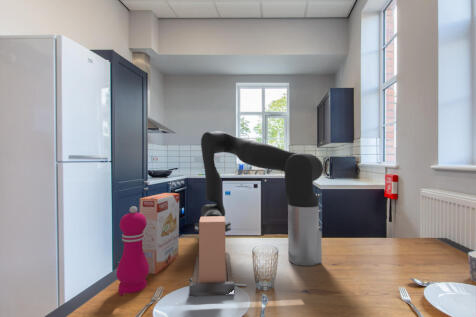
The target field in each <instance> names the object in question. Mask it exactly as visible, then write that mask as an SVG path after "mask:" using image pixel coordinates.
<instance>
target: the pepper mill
mask: <svg viewBox="0 0 476 317" xmlns="http://www.w3.org/2000/svg"><path fill="white" fill-rule="evenodd" d="M146 225H147V221H146V218H145V216H144V215H143V214H141V213H139V212H138V207H136V206H135V205H134V206H131V207H130V208H129V213H126V214H124V215H123V216H122V217H121V218H120V221H119V228H120V231H121V232H122V234H121V241H122V242H123V252H122V256H121V258H120V260H119V262H118V266H117V269H116V279H117V280H118V281H119V282H120V283H119V284H118V294H119V295H120V296H123V295H124V294H132V293H137V292H140V291H142V290H144V289H145V288H146V287H148V286H147V285H148V280H147V279H146V278H147V276H148V275H149V265H148V261H147V259H146V257H145V255H144V252H143V247H142V240H143V239H144V232H143V230H144V229H145V227H146Z"/></svg>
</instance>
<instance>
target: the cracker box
mask: <svg viewBox="0 0 476 317" xmlns="http://www.w3.org/2000/svg"><path fill="white" fill-rule="evenodd" d="M138 213H141V214H143V215H144V216H145V218H146V221H147V225H146V227H145V229H144V230H143V232H144V239H143V240H142V247H143V252H144V255H145V257H146V259H147V261H148V265H149V273H148V275H149V274H152V275H157V274H158V273H160V272H161V271H162V270H163V269H164V268H166V266H168V265H170V264H171V263H172V262H173V261H174V260H175V259H176V258H178V257H179V242H180V241H179V240H180V239H179V236H180V235H179V234H180V233H179V232H180V228H179V227H180V222H179V221H180V193H175V192H162V193H159V194H155V195H149V196H145V197H141V198H139V212H138Z"/></svg>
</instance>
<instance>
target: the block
mask: <svg viewBox="0 0 476 317" xmlns="http://www.w3.org/2000/svg"><path fill="white" fill-rule="evenodd" d="M198 223H199V232H198V255H199V283H207V282H225V254H226V232H225V223H226V216H225V217H224V216H209V217H202V216H200V218H199V222H198Z"/></svg>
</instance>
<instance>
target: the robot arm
mask: <svg viewBox="0 0 476 317" xmlns="http://www.w3.org/2000/svg"><path fill="white" fill-rule="evenodd" d="M200 145H201V146H200V148H201V156H202V161H203V162H202V163H203V169H204V175H205V199H206V200H207V201H209V202H213V203H215V204H211V203H210V204H205V205H203V206H202V207H201V211H200V214H201V217H209V216H224V217H225V218H226V209H225V206H224V203H223V197H222V191H223V189H222V188H223V184H222V183H223V182H222V178H221V176H220V173H219V171H218V169H217V167H216V164H215V154H219V153H227V154H231V155H234V156H236V158H238V160H239V161H241V162H242V163H243V164H246V165H249V166H252V167H254V168H255V167H256V168H260V169H265V170H273V171H280V172H284V188H285V189H284V190H285V196H286V198H287V212H288V215H287V228H288V230H287V232H288V234H287V236H288V239H287V240H288V244H287V246H288V249H287V250H288V252H287V254H288V256H287V257H288V261H289V262H290V263H292V264H294V265H298V266H302V267H303V266H305V267H310V266H311V267H312V266H316V265H319V264H322V260H323V259H322V255H323V254H322V231H321V230H320V228H319V227H320V226H319V225H320V219H319V218H320V217H319V216H320V215H319V214H320V211H319V210H320V208H319V204H320V203H319V197H318V196H319V195H317V194H316V193H315V192H314V185H313V184H314V182H315V181H317V180H319V178H321V176H323V173H324V165H323V163H322V161H321V160H320V158H318V157H317V156H315V155H313V154H312V153H311V154H310V153H302V152H294V151H290V150H289V151H288V150H285V149H282V148H279V147H278V146H274V145H271V144H268V143H265V142H262V141H257V140H254V139H249V138H243V137H237V136H235V135H232V134H231V133H230V134H229V133H228V132H225V131H221V130H218V131H217V130H215V131H206V132H204V133H203V134H202V135H201V139H200ZM231 225H232V223H231V222H230V221H229V222H225V233H227V232H229V231H231V227H232V226H231ZM194 231H195V232H197V233H199V222H196V223H194Z"/></svg>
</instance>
